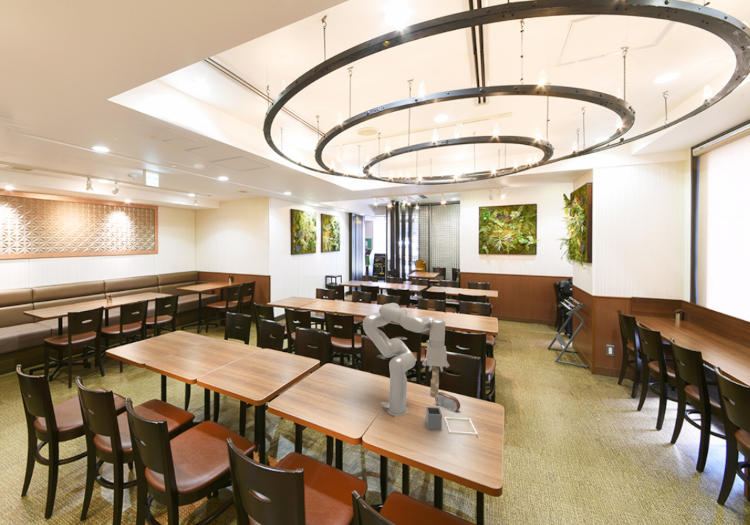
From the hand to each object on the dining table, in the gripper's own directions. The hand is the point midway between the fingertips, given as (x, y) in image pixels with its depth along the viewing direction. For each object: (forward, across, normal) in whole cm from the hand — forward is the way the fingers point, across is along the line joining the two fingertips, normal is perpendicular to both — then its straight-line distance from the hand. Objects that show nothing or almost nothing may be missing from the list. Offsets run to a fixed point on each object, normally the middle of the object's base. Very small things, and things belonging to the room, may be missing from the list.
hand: (435, 377), depth 147 cm
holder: (+26, 0, 0) cm, 26 cm away
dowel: (+9, 0, 0) cm, 9 cm away
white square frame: (+26, +14, +1) cm, 30 cm away
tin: (+27, +11, +19) cm, 35 cm away
